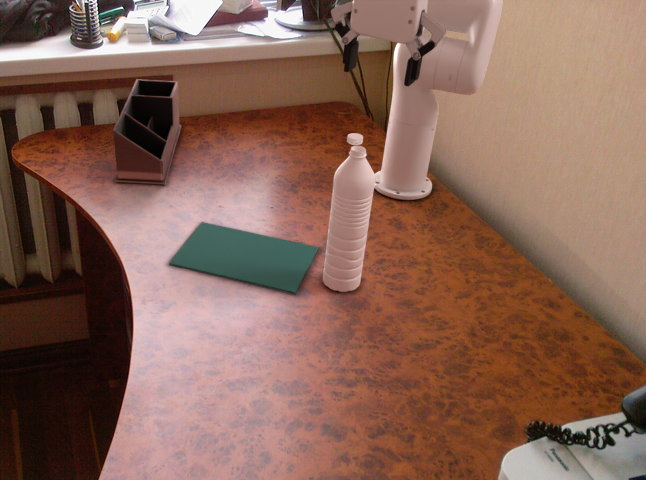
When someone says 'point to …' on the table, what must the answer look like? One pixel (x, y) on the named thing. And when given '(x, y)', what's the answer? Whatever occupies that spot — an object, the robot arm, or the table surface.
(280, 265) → the mat
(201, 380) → the table surface
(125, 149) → the desk organizer
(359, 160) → the water bottle
